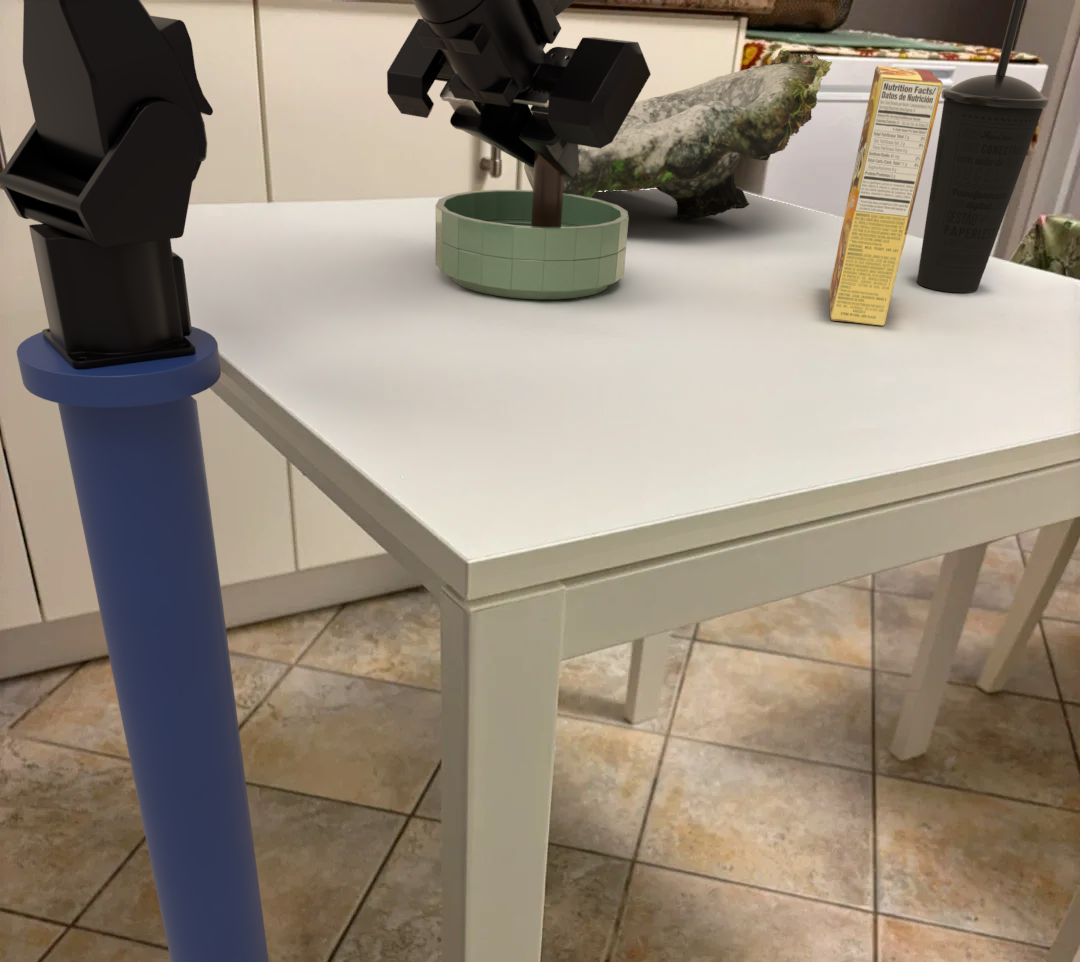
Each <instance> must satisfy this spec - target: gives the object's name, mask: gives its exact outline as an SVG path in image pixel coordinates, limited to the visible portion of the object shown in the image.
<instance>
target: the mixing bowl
mask: <svg viewBox="0 0 1080 962" xmlns="http://www.w3.org/2000/svg"><path fill="white" fill-rule="evenodd" d="M532 199H533V189H532V190H531V189H485V190H472V191H471V190H469V191H464V192H458V193H451V194H448V195H447V196H443V197H441V198H439V199H438V200H437V202H436V204H435V266H436V267H437V268H438V269H439V271H440V272H441V273H443V274H444V275H447V276H449V277H450V278H449V279H451V281H452V282H453V283H455V284H456V285H459V286H461V287H462V288H466V289H468V290H471V291H474V292H477V293H482V294H486V295H491V296H496V297H503V298H510V299H522V300H543V301H544V300H551V301H552V300H569V299H578V298H583V297H585V298H586V297H589V296H593V295H596V294H599V293H601V292H603V291H605V290H607V289H608V287H609V286H610V285H612V284H615V283H617V282H618V281H619V280H621V279H622V278H623V277H624V275H625V274H624V273H625V266H626V265H625V263H626V253H627V242H628V230H629V220H630V216H629V212H628V210H626V209H625V208H623V207H622V206H620V205H618V204H616V203H612V202H609V201H606V200H603V199H600V198H594V197H585V196H580V195H573V194H565V193H563V204H562V221H561V227H538V226H531V221H532Z"/></svg>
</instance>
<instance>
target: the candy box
mask: <svg viewBox="0 0 1080 962" xmlns="http://www.w3.org/2000/svg"><path fill="white" fill-rule="evenodd" d="M873 74H874V75H873V78H872V83H871V88H870V92H869V97H868V102H867V107H866V110H865V115H864V116H865V117H864V122H863V125H862V131H861V135H860V139H859V144H858V149H857V153H856V158H855V163H854V168H853V171H852V177H851V183H850V187H849V192H848V197H847V202H846V205H845V211H844V212H845V213H844V217H843V221H842V226H841V231H840V235H839V236H840V237H839V241H838V247H837V252H836V257H835V261H834V266H833V271H832V276H831V281H830V285H829V311H830V312H829V314H830V315H829V316H830V321H833V322H844V323H845V322H846V323H856V324H865V325H874V326H884V325H885V324H886V320H887V315H888V312H889V308H890V305H891V299H892V295H893V292H894V287H895V282H896V279H897V275H898V271H899V268H900V263H901V259H902V255H903V250H904V247H905V244H906V238H907V235H908V231H909V227H910V224H911V223H910V222H911V220H912V219H911V218H912V215H913V210H914V206H915V202H916V198H917V194H918V189H919V186H920V181H921V177H922V173H923V169H924V164H925V161H926V160H925V159H926V158H927V157H926V156H927V153H928V148H929V144H930V142H931V141H930V140H931V136H932V132H933V128H934V124H935V120H936V115H937V110H938V107H939V103H940V98H941V95H942V91H943V86H944V85H943V84H944V83H943V81H942V80H941V79H939V78H938V77H937V76H935V74H933V72H932V71H931V70H926V69H919V68H911V67H899V66H887V65H877V66H876V67H875V69H874V72H873Z"/></svg>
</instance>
